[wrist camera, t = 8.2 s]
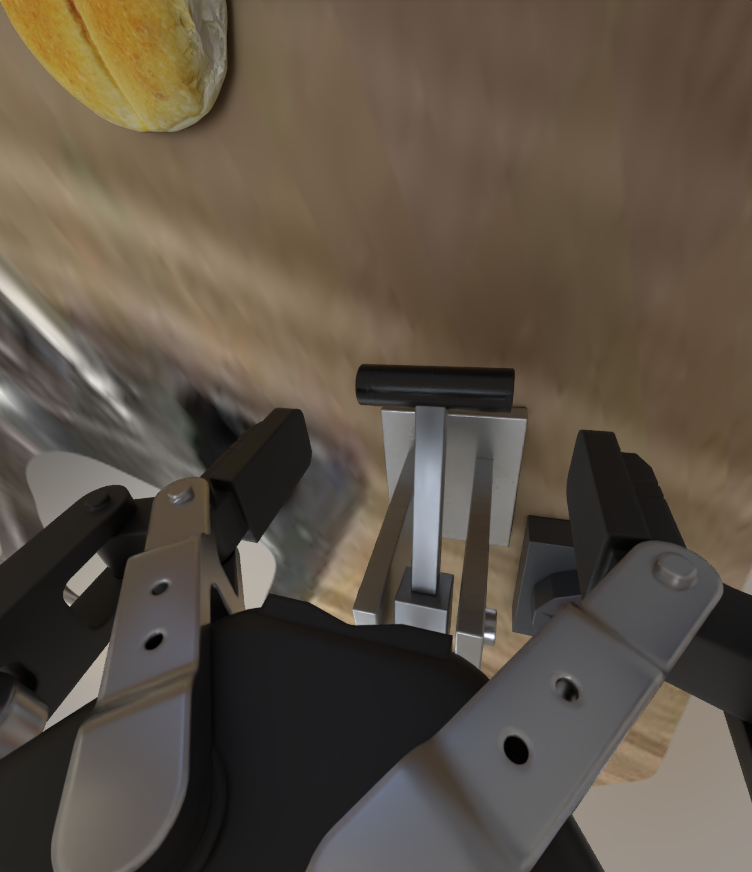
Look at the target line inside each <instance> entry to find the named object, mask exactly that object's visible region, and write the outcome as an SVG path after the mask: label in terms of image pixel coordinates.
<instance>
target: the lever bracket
mask: <svg viewBox="0 0 752 872" xmlns="http://www.w3.org/2000/svg"><path fill="white" fill-rule="evenodd" d="M381 417H382V427H383V438H384V448H385V459H386V469H387V480H388V490H389V501H390V505H389V507H388V510H387V513H386V516H385V519H384V522H383V524H382V527H381V530H380V533H379V536H378V539H377V541H376V544H375V547H374V550H373V553H372V555H371V558H370V561H369V564H368V567H367V570H366V572H365V575H364V578H363V581H362V584H361V586H360V589H359V591H358V594H357V598H356V601H355V603H354V606H353V614H354V619H355V624H356V625H380V624H394V599H395V596H396V594H397V591H398V588H399V586H400V583H401V580H402V577H403V575H404V572H405V569H406V567H411V561H412V522H413V483H414V445H415V408H405V407H388V406H383V407H382V409H381ZM527 421H528V416H527V409H526V408H512V409H511V413H510V414H504V413H488V412H471V411H454V410H448V428H447V448H446V467H445V487H444V506H443V526H442V537H443V538H450V539H457V540H463V541H466V547H465V556H464V564H463V573H462V581H461V590H460V599H459V607H458V616H457V625H456V637H455V653H456V654H458V655H460V656H462V657H463V658H465V659H466V660H468V661H469V662H470V663H472V664H473V665H475V666H476V667H477V668H478V669H479V670H480V668H481V659H482V651H483V644H485V645H490V646H494V645H495V638H496V623H497V611H496V610H494V609H489V608H486V593H487V575H488V556H489V544H490V545H496V546H503V547H509V543H510V536H511V529H512V523H513V516H514V509H515V502H516V496H517V489H518V482H519V475H520V469H521V462H522V455H523V448H524V442H525V435H526V428H527Z"/></svg>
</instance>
